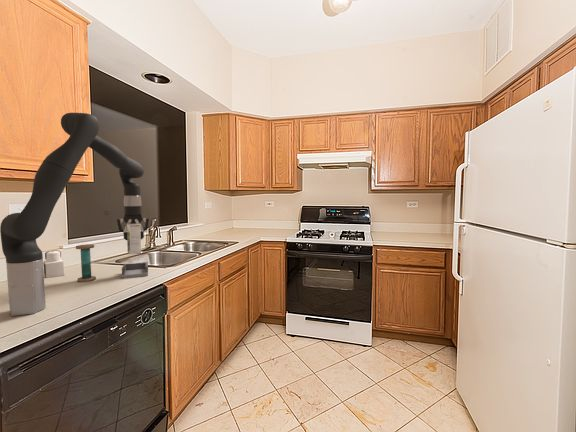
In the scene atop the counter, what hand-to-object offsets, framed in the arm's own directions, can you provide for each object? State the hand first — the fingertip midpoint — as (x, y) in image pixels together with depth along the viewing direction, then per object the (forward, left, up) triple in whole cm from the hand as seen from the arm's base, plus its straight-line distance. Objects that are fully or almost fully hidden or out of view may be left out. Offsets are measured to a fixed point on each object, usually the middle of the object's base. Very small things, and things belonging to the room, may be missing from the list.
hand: (134, 239), depth 144 cm
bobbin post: (-1, +20, -17) cm, 26 cm away
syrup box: (0, 0, -7) cm, 7 cm away
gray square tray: (0, 0, -17) cm, 17 cm away
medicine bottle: (+15, +36, -18) cm, 43 cm away
